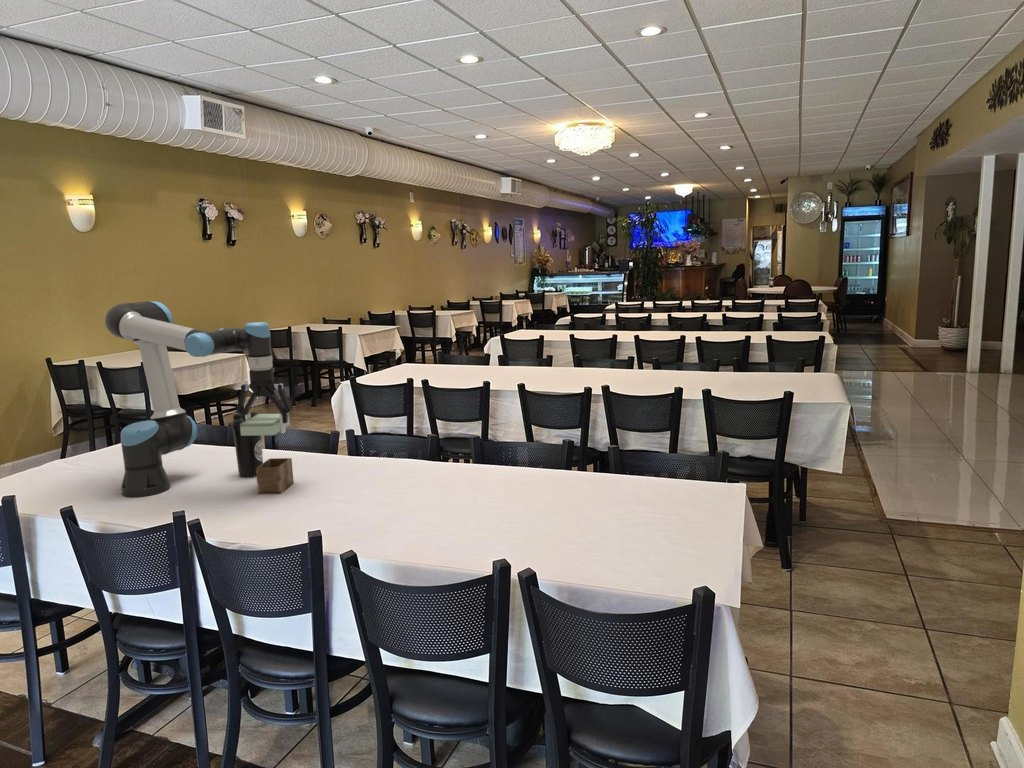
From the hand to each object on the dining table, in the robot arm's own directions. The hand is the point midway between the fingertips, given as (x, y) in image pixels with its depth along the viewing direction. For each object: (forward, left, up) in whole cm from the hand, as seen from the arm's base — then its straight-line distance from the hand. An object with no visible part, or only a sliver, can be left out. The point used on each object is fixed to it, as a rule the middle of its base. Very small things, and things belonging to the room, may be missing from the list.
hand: (266, 432), depth 241 cm
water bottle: (-14, +17, -20) cm, 30 cm away
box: (+2, 0, -20) cm, 20 cm away
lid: (0, 0, +1) cm, 1 cm away
